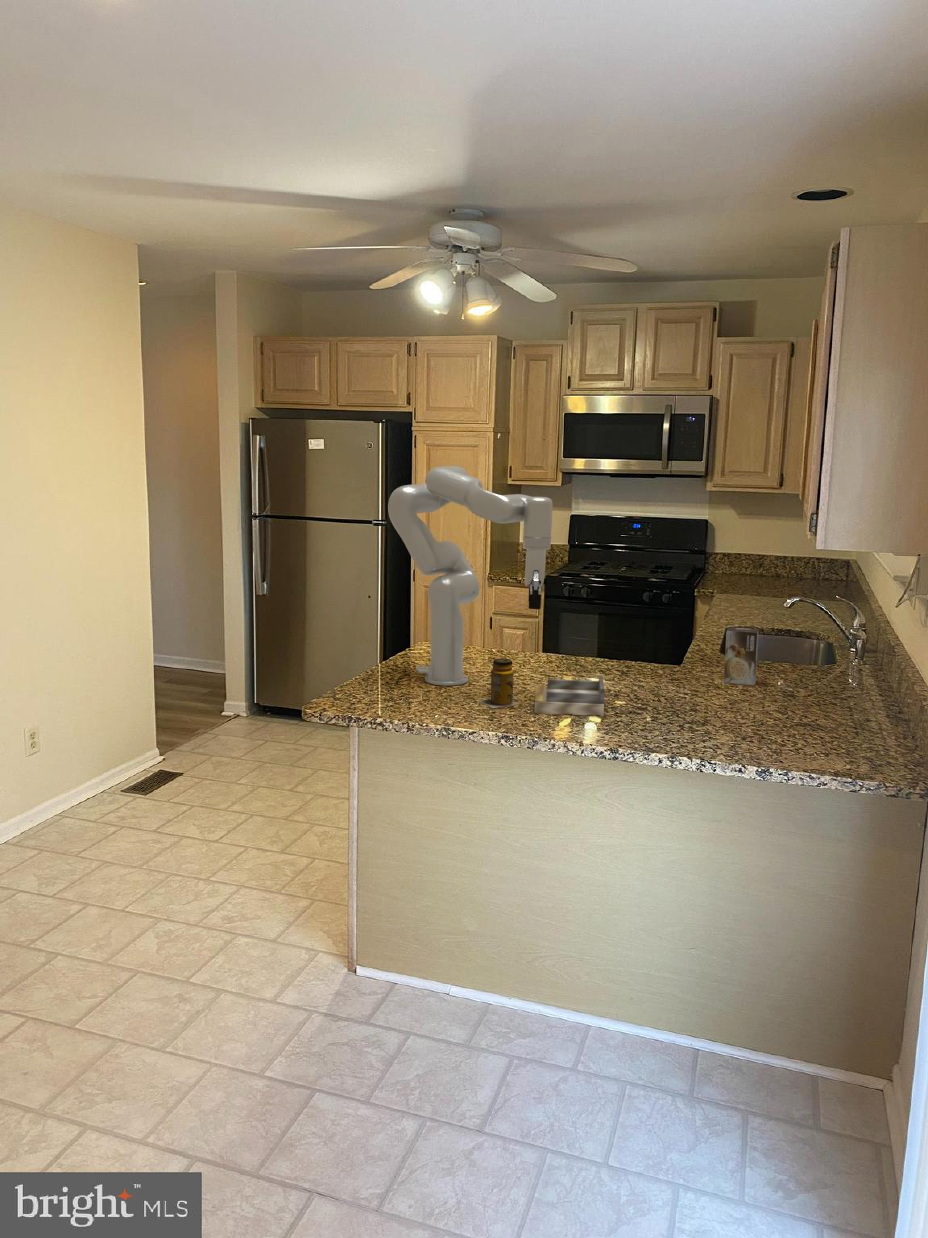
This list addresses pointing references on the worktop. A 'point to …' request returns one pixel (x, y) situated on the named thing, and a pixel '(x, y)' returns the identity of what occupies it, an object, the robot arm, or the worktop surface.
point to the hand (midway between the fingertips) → (534, 605)
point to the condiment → (501, 684)
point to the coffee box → (741, 656)
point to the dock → (570, 697)
